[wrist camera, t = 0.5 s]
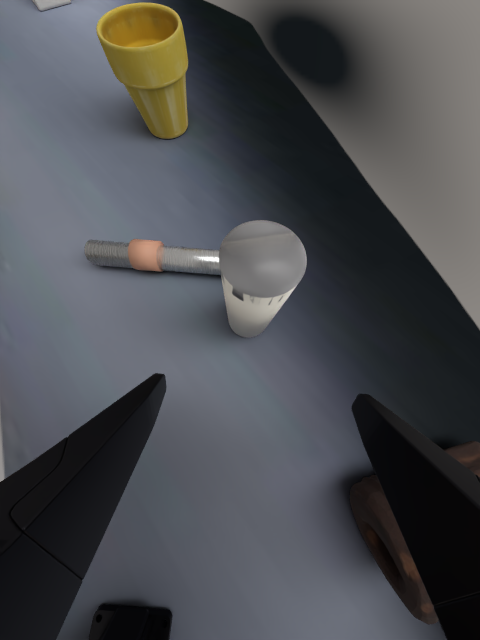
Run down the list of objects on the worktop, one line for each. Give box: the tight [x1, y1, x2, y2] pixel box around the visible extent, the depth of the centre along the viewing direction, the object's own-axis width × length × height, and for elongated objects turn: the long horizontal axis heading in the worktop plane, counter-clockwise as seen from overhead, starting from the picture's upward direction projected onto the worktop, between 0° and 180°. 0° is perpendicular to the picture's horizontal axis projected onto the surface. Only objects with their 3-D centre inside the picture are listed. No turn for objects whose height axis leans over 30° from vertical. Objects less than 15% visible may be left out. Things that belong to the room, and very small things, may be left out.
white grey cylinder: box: [219, 220, 307, 338], centre depth 17 cm, size 5×5×13 cm
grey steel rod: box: [85, 239, 221, 275], centre depth 23 cm, size 4×26×4 cm, turn 86°
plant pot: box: [96, 3, 188, 139], centre depth 27 cm, size 10×10×10 cm
